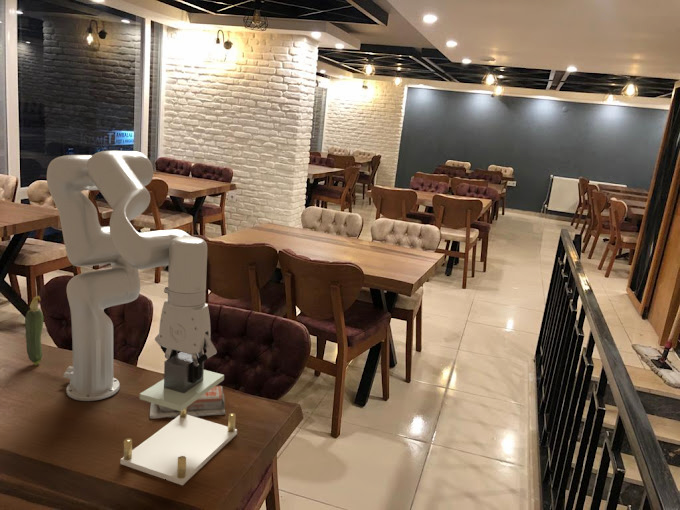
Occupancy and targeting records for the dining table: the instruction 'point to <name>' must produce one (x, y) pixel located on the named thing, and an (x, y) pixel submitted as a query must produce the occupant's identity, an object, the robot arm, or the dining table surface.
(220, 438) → the chassis
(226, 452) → the dining table surface
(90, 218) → the robot arm
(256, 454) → the dining table surface
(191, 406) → the packaged product
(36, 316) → the vegetable
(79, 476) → the dining table surface
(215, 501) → the dining table surface
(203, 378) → the board
